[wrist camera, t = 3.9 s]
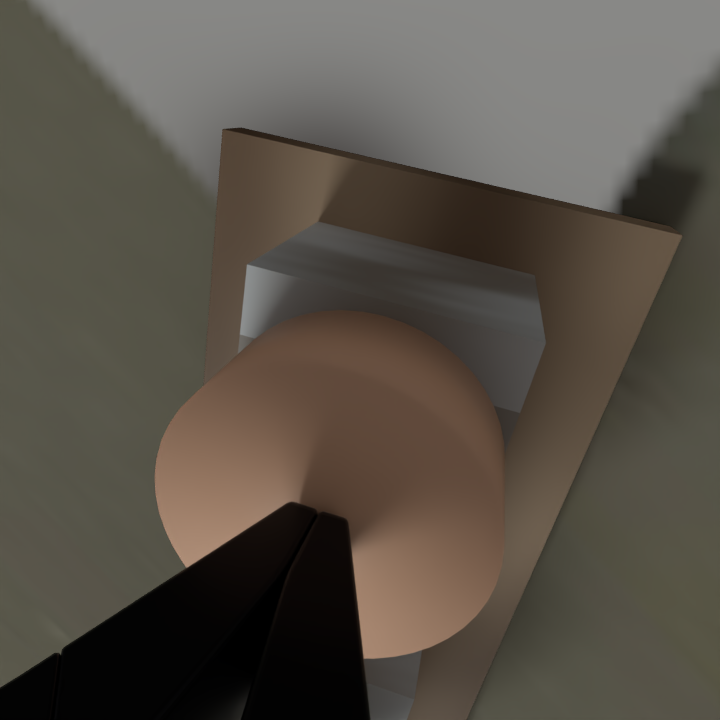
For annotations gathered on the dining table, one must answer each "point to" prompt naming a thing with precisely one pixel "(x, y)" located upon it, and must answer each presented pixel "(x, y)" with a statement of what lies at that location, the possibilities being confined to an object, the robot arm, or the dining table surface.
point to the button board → (444, 329)
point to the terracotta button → (351, 465)
